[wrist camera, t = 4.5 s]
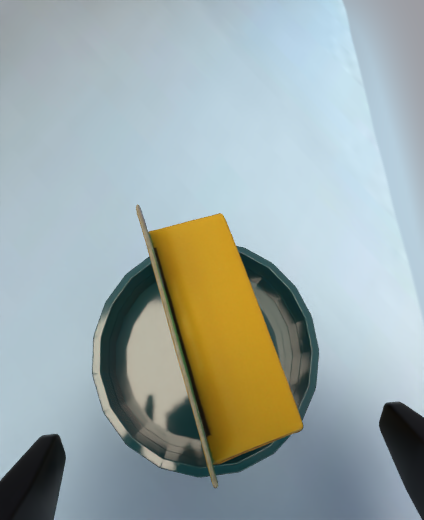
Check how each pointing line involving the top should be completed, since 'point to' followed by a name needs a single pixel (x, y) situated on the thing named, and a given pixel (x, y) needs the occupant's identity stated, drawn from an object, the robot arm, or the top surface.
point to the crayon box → (220, 340)
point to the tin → (169, 373)
